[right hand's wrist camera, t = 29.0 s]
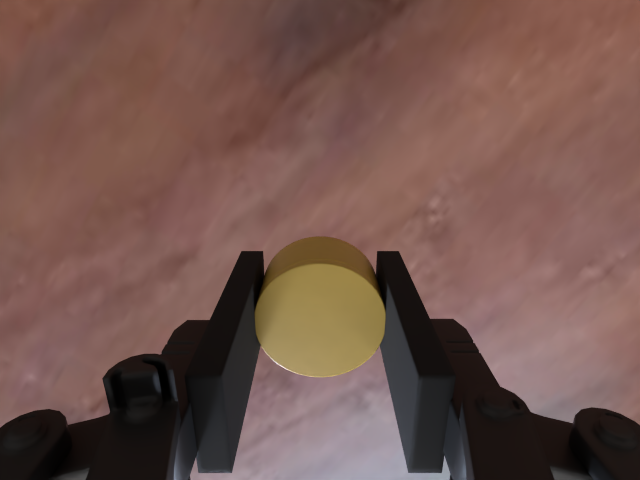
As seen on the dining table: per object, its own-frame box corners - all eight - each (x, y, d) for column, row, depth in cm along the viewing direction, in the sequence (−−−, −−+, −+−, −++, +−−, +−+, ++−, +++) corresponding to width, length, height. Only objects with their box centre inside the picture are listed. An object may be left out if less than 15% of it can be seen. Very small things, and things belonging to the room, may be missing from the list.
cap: (383, 327, 15) (394, 367, 13) (277, 344, 16) (270, 386, 13) (368, 226, 14) (377, 252, 12) (250, 246, 14) (238, 276, 12)
